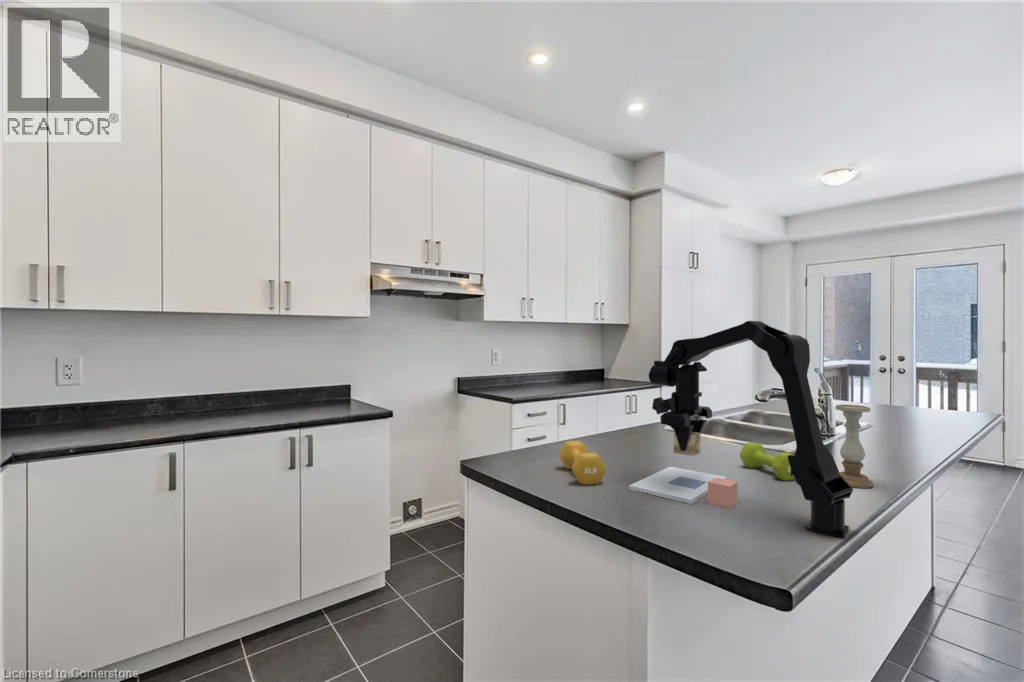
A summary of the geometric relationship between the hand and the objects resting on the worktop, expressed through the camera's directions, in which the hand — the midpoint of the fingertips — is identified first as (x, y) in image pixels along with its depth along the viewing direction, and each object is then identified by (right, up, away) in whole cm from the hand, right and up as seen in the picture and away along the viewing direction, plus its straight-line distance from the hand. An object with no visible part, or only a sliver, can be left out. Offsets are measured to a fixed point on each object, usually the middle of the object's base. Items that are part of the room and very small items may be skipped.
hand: (687, 448), depth 123 cm
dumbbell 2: (+28, -10, +13) cm, 32 cm away
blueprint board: (-2, -10, +1) cm, 10 cm away
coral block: (+4, -10, -12) cm, 16 cm away
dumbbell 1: (-26, -10, +10) cm, 30 cm away
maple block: (0, -1, 0) cm, 1 cm away
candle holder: (+44, -10, +3) cm, 46 cm away
